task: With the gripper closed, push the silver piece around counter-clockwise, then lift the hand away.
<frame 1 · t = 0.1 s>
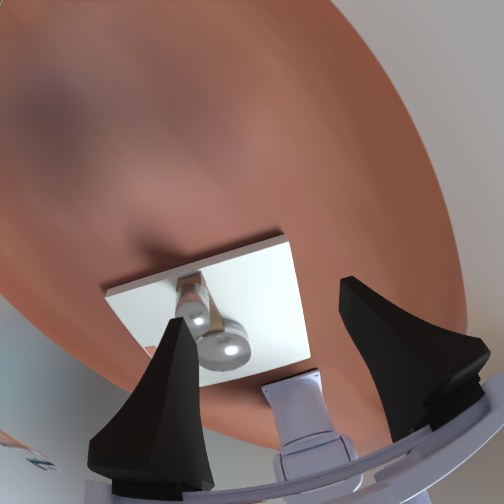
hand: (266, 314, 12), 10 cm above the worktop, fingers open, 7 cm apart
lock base: (220, 327, 26), on the worktop
silver piece: (212, 338, 21), point 4 cm above the worktop, hinge at 0.0°
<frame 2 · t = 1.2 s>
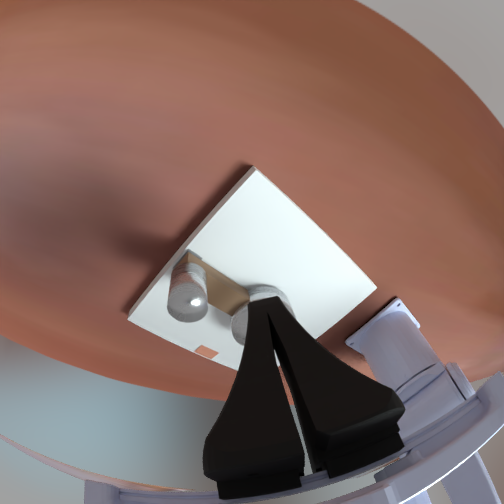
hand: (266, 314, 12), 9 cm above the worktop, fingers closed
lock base: (256, 298, 23), on the worktop
silver piece: (236, 313, 19), point 4 cm above the worktop, hinge at 0.0°
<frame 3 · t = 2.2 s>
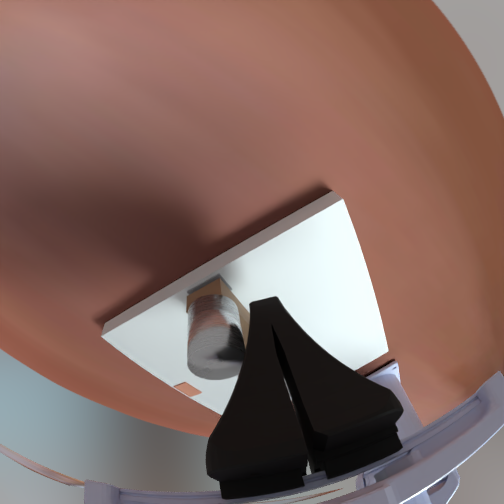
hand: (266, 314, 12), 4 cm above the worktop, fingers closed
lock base: (267, 342, 19), on the worktop
silver piece: (257, 367, 14), point 4 cm above the worktop, hinge at 0.0°, touching gripper
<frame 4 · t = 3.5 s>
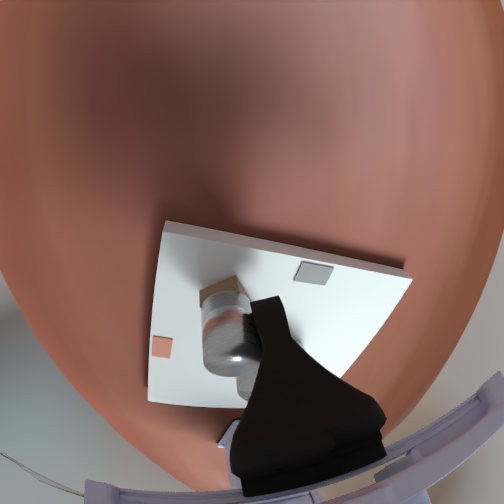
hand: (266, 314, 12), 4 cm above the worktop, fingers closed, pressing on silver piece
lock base: (265, 344, 19), on the worktop
silver piece: (261, 367, 14), point 4 cm above the worktop, hinge at 39.9°, touching gripper
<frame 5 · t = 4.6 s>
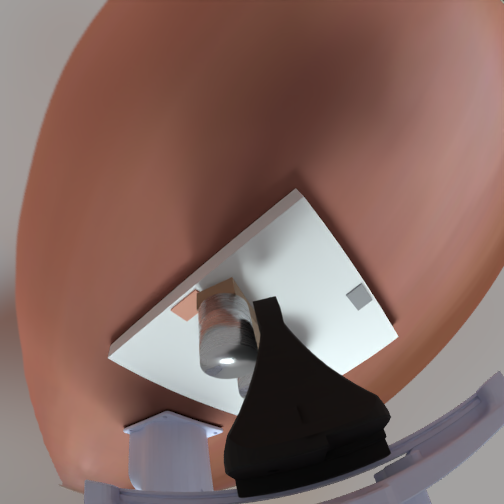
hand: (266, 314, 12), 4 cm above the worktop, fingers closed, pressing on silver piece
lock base: (267, 344, 19), on the worktop
silver piece: (261, 367, 14), point 4 cm above the worktop, hinge at 74.9°, touching gripper
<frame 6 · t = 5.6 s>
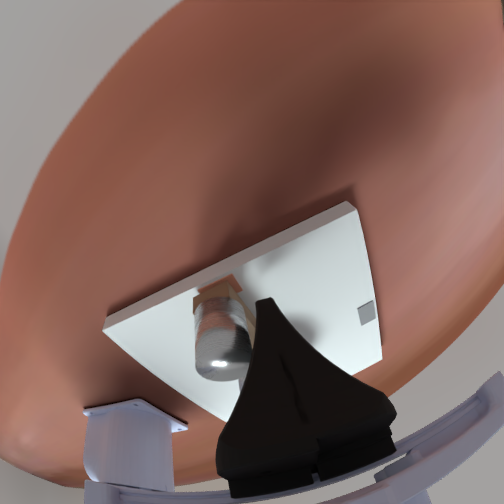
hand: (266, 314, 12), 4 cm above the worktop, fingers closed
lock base: (267, 344, 19), on the worktop
silver piece: (260, 369, 14), point 4 cm above the worktop, hinge at 92.2°, touching gripper
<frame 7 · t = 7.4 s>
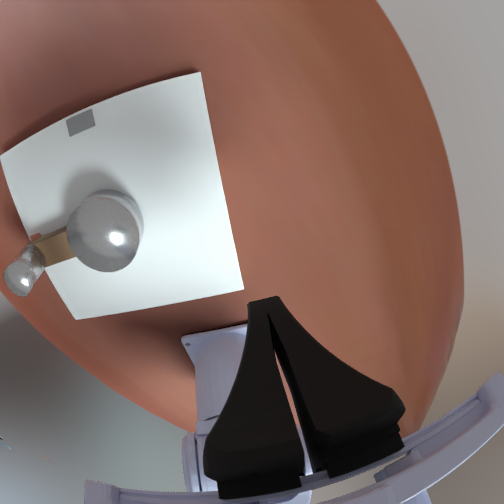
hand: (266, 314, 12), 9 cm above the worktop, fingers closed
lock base: (115, 214, 18), on the worktop
silver piece: (66, 251, 15), point 4 cm above the worktop, hinge at 92.5°
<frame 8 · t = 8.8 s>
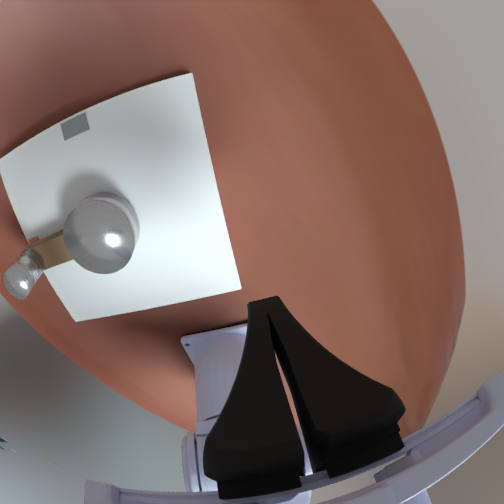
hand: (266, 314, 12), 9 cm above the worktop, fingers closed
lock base: (112, 217, 18), on the worktop
silver piece: (63, 253, 15), point 4 cm above the worktop, hinge at 92.5°
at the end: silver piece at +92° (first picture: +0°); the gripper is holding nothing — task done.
